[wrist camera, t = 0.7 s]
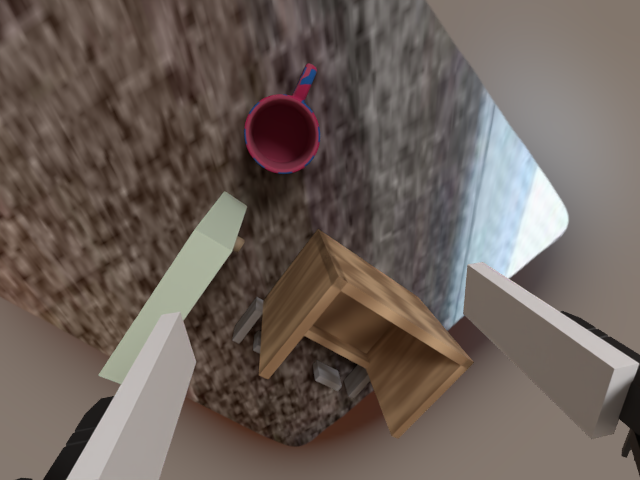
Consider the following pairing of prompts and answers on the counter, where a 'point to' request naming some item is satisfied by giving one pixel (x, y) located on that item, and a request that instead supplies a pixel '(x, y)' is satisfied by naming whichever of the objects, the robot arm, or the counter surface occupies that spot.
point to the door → (183, 280)
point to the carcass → (357, 331)
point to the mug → (284, 129)
